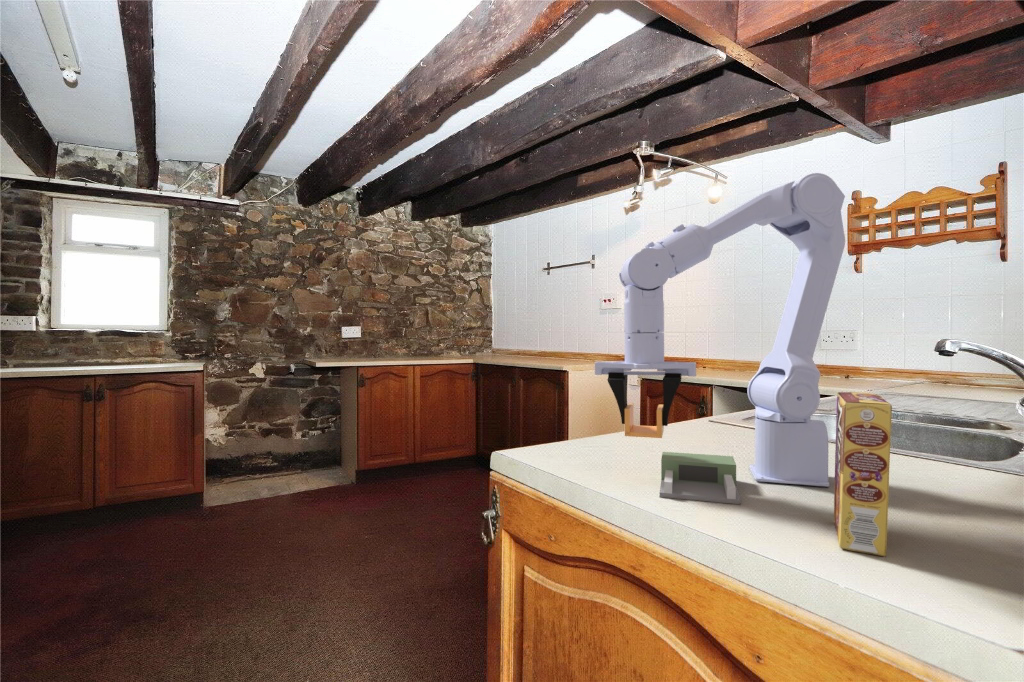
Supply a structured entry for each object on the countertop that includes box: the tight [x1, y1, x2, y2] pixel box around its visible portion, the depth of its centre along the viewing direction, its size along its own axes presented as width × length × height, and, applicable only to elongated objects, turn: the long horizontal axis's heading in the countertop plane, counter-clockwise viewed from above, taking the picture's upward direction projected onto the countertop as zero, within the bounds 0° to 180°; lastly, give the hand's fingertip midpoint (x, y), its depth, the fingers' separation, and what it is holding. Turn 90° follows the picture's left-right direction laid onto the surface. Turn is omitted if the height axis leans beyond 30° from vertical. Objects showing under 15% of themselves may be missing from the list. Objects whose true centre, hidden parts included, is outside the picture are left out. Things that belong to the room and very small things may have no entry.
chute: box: [624, 402, 665, 439], centre depth 77 cm, size 5×6×4 cm
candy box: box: [833, 391, 893, 557], centre depth 55 cm, size 9×4×15 cm, turn 152°
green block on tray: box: [659, 451, 742, 505], centre depth 73 cm, size 10×11×4 cm
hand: (644, 423), depth 77 cm, fingers closed on chute, 5 cm apart
